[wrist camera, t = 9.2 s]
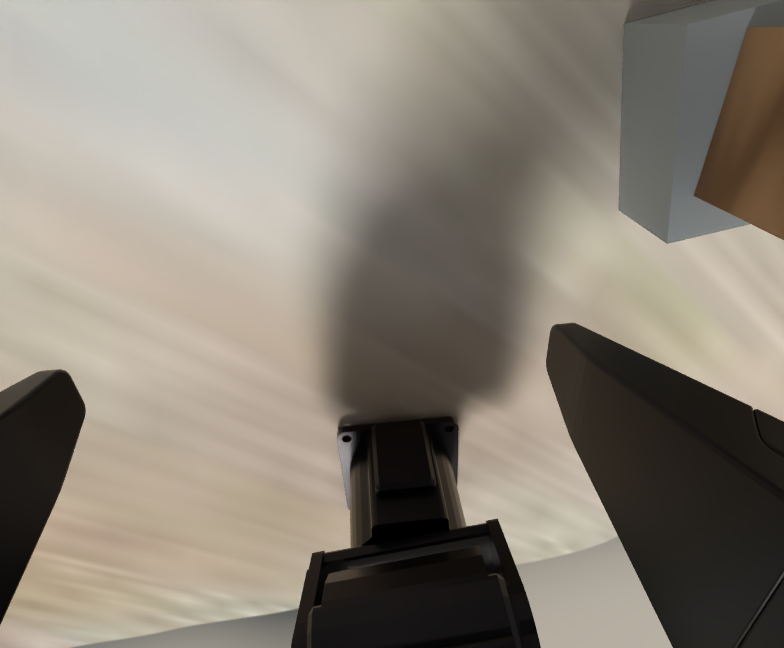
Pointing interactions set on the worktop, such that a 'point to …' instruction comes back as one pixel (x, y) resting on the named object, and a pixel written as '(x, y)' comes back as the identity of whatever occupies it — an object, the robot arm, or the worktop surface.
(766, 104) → the walnut block
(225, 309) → the worktop surface
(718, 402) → the robot arm
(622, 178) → the slate base block
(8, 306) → the worktop surface
